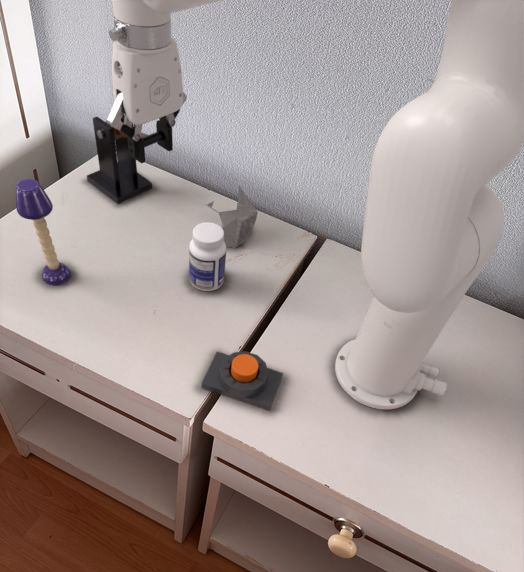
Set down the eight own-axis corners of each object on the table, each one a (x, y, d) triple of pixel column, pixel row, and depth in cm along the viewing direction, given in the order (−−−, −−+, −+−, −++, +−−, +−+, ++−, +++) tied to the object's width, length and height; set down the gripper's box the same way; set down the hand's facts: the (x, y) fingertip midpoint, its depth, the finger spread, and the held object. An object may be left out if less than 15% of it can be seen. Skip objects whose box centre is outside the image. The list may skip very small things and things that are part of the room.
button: (260, 366, 71) (261, 358, 70) (252, 386, 69) (253, 379, 68) (235, 358, 72) (236, 350, 70) (227, 378, 69) (228, 370, 68)
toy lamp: (51, 291, 78) (24, 199, 65) (31, 276, 80) (1, 183, 67) (76, 275, 81) (55, 184, 68) (56, 261, 82) (32, 169, 69)
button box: (282, 376, 74) (285, 363, 71) (269, 412, 70) (272, 400, 67) (217, 354, 75) (218, 342, 72) (200, 389, 71) (201, 377, 68)
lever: (166, 143, 84) (163, 128, 83) (142, 153, 82) (138, 138, 80) (122, 130, 91) (119, 116, 89) (99, 139, 88) (95, 125, 87)
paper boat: (234, 257, 86) (187, 228, 86) (233, 265, 93) (189, 238, 92) (271, 198, 87) (224, 169, 87) (267, 209, 94) (223, 182, 93)
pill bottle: (210, 263, 86) (213, 215, 79) (231, 284, 84) (235, 236, 76) (181, 276, 84) (181, 227, 76) (201, 297, 81) (203, 249, 74)
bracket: (152, 188, 97) (148, 123, 87) (118, 204, 93) (110, 138, 83) (121, 166, 100) (115, 101, 90) (87, 181, 96) (76, 114, 86)
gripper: (109, 55, 65) (124, 182, 79) (207, 28, 73) (205, 146, 88) (73, 34, 67) (94, 161, 81) (172, 10, 76) (175, 128, 90)
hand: (151, 152), depth 84 cm, fingers closed on lever, 5 cm apart
